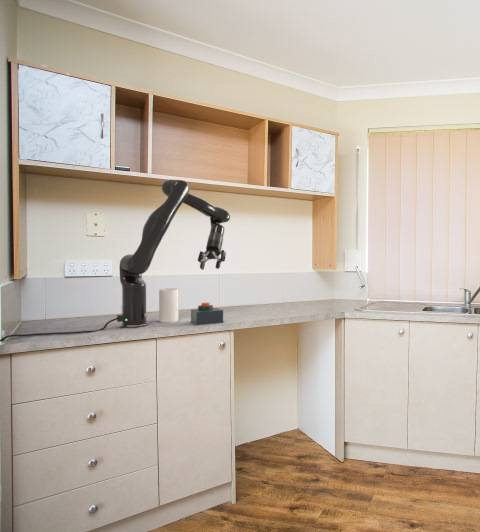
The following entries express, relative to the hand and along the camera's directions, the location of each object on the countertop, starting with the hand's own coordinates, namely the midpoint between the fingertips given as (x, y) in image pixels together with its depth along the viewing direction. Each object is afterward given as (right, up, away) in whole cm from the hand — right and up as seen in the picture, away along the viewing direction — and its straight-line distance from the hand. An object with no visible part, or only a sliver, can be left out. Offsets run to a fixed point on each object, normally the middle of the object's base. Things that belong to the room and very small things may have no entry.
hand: (209, 268), depth 210 cm
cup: (-14, -26, -14) cm, 33 cm away
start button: (+5, -19, -14) cm, 24 cm away
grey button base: (+7, -27, -16) cm, 32 cm away
